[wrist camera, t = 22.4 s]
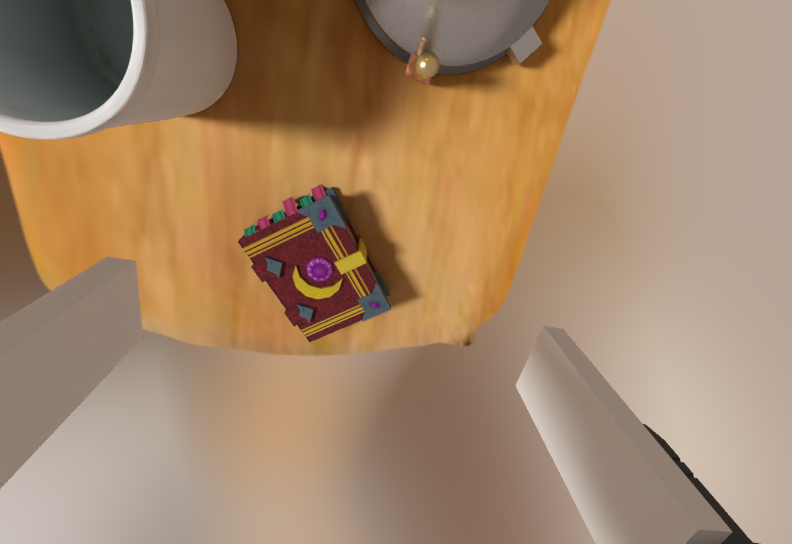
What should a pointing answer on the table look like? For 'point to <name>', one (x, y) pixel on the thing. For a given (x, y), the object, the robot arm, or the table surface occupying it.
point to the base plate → (405, 57)
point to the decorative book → (316, 265)
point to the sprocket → (457, 31)
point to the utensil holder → (110, 63)
